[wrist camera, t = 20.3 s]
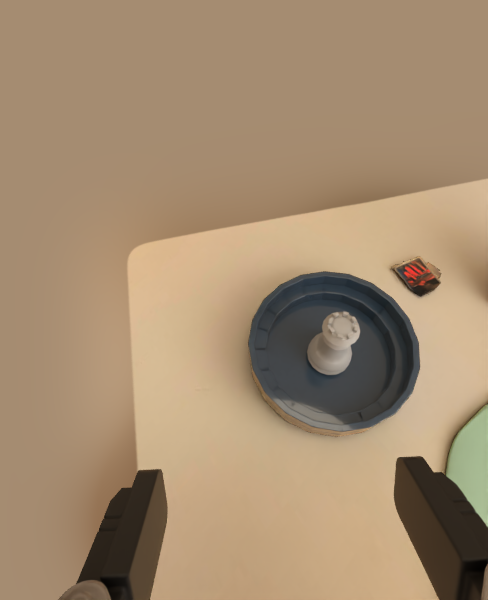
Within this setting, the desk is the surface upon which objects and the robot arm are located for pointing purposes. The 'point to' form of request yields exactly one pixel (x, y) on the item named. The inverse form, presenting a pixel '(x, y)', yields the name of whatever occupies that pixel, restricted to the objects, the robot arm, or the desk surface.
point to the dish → (364, 361)
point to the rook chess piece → (334, 343)
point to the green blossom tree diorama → (472, 462)
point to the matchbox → (419, 275)
